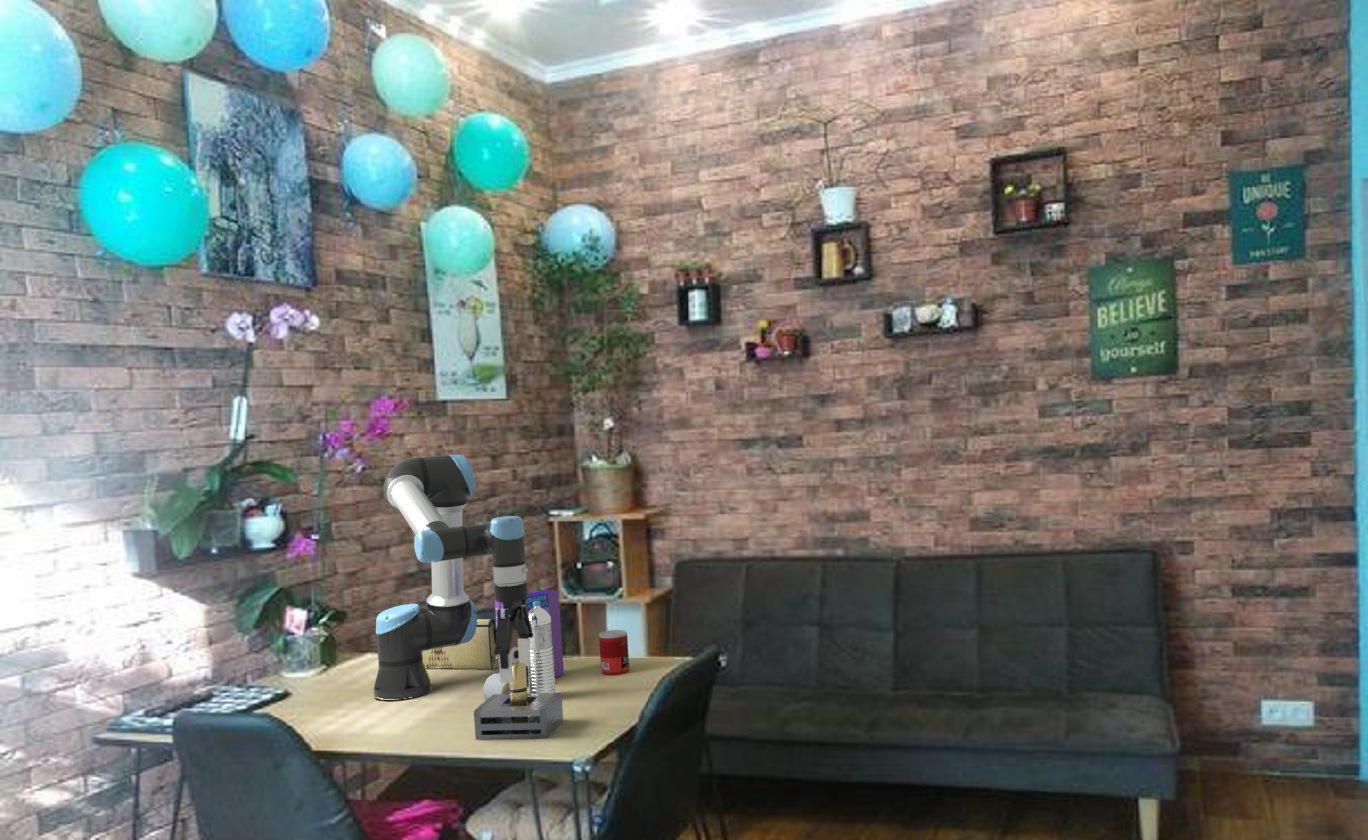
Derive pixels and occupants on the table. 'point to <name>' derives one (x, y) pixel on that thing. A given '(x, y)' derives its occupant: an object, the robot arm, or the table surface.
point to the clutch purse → (467, 650)
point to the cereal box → (551, 605)
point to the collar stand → (497, 716)
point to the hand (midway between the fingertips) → (516, 673)
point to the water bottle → (541, 652)
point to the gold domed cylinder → (518, 687)
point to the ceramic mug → (495, 686)
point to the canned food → (614, 652)
